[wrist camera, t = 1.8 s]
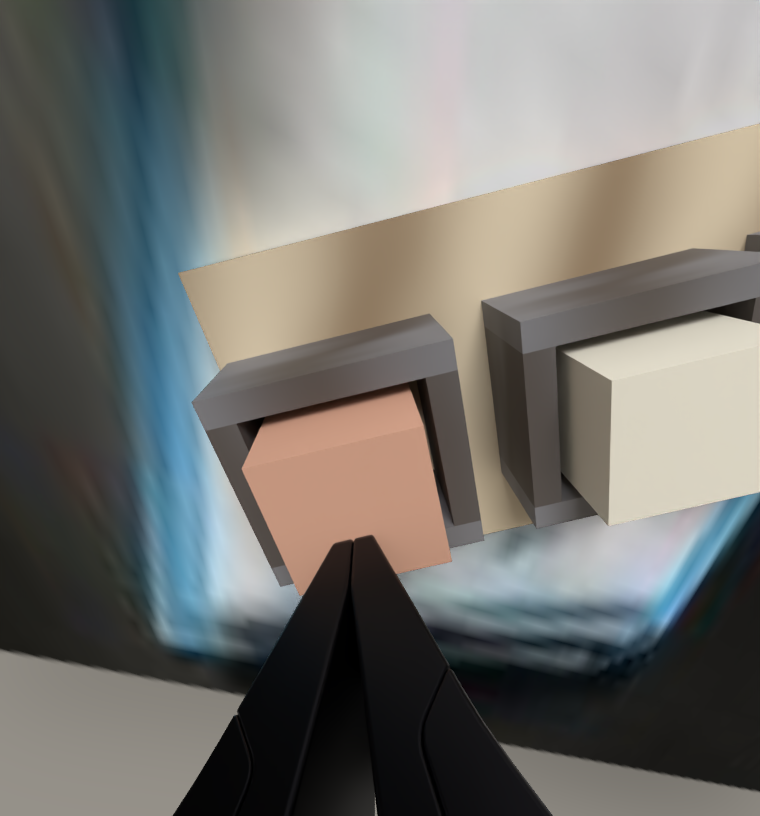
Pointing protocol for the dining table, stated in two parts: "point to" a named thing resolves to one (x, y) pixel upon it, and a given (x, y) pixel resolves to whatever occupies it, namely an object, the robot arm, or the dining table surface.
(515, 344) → the button panel
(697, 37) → the dining table surface
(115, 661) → the dining table surface
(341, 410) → the button terracotta
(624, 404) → the button cream
